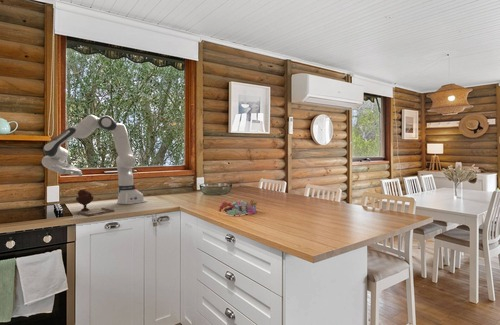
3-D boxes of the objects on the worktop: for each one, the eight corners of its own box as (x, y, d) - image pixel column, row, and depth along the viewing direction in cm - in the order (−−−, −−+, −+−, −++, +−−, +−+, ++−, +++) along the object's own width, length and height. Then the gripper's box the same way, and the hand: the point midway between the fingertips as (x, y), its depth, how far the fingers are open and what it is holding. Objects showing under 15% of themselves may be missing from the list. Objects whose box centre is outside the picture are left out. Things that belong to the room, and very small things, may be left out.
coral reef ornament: (232, 208, 224) (232, 195, 223) (261, 211, 213) (261, 198, 213) (214, 215, 201) (214, 201, 201) (246, 218, 191) (246, 204, 190)
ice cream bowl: (86, 212, 208) (85, 190, 207) (72, 211, 210) (71, 190, 210) (97, 209, 218) (96, 188, 218) (83, 208, 221) (83, 188, 220)
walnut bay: (102, 209, 218) (102, 207, 218) (114, 211, 211) (114, 209, 211) (77, 213, 203) (77, 212, 203) (88, 216, 196) (88, 214, 196)
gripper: (51, 161, 209) (67, 168, 206) (74, 165, 229) (88, 171, 226) (48, 170, 208) (63, 177, 205) (70, 173, 228) (85, 179, 225)
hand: (76, 174), depth 216 cm, fingers open, 8 cm apart
